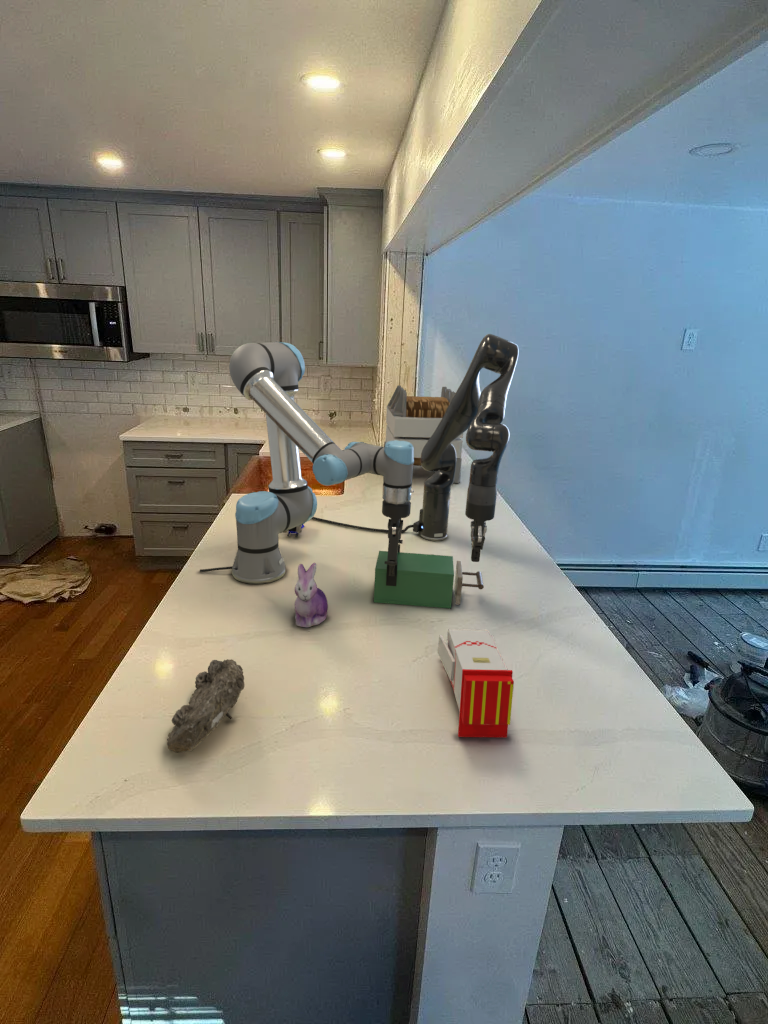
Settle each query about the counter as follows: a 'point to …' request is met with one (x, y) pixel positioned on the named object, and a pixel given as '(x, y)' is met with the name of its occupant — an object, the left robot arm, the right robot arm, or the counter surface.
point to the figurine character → (294, 530)
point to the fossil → (206, 705)
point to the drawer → (459, 583)
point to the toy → (478, 682)
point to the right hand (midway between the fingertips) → (475, 560)
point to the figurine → (309, 599)
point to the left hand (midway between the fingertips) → (392, 575)
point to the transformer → (419, 422)
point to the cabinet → (416, 580)
